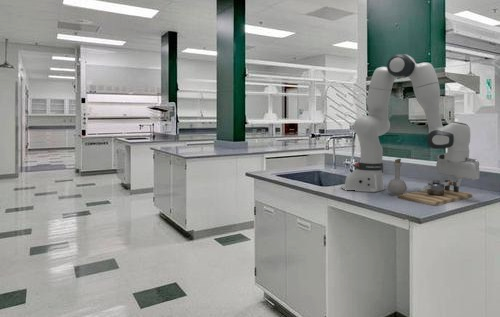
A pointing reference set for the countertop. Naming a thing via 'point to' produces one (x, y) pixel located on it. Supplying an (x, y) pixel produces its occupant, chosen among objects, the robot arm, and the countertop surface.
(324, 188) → the countertop surface
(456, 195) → the stand
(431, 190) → the capstan
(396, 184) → the potion bottle
